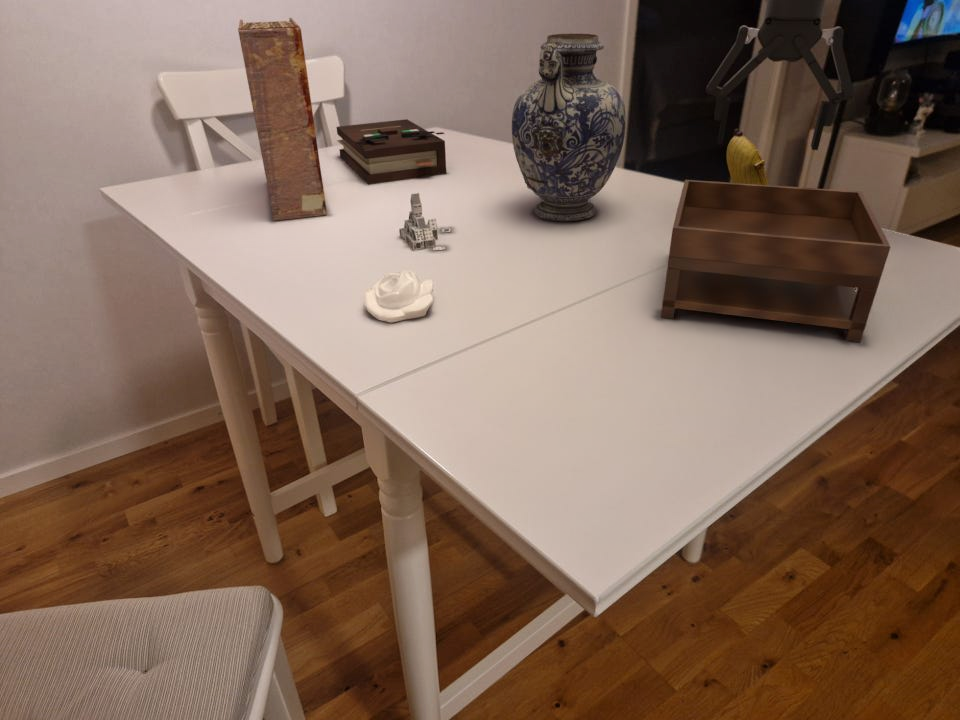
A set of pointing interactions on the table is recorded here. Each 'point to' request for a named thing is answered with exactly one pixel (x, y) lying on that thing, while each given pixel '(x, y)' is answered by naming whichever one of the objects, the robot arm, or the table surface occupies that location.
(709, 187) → the brown wooden open box
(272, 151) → the book
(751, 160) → the shrine
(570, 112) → the decorative vase
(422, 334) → the table surface
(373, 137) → the decorative book
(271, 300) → the table surface
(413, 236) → the house of cards
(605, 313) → the table surface
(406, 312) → the rose
